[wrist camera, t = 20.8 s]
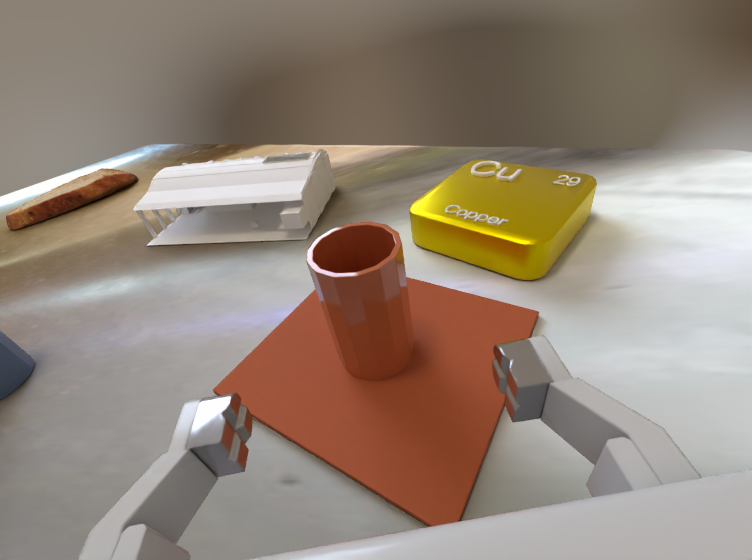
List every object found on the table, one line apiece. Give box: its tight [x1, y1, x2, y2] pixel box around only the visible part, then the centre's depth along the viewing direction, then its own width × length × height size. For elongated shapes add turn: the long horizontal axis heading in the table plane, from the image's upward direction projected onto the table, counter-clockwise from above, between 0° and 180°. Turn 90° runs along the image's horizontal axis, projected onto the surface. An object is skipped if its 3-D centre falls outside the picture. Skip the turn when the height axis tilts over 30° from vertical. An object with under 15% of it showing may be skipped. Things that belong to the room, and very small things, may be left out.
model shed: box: [133, 149, 336, 245], centre depth 51 cm, size 25×15×7 cm, turn 81°
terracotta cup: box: [307, 222, 415, 381], centre depth 26 cm, size 6×6×10 cm
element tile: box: [409, 159, 597, 280], centre depth 39 cm, size 15×15×5 cm
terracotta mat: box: [213, 277, 539, 527], centre depth 29 cm, size 18×20×1 cm
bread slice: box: [6, 169, 138, 230], centre depth 68 cm, size 18×18×4 cm
